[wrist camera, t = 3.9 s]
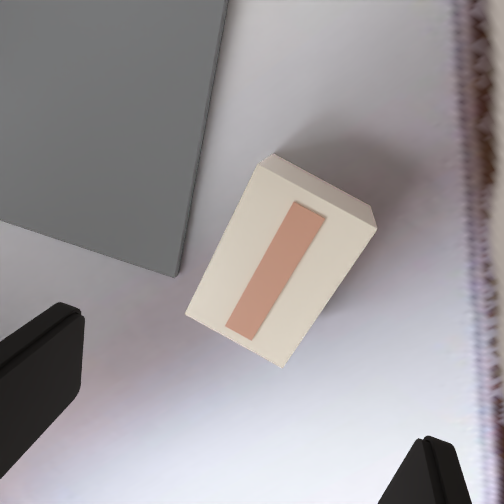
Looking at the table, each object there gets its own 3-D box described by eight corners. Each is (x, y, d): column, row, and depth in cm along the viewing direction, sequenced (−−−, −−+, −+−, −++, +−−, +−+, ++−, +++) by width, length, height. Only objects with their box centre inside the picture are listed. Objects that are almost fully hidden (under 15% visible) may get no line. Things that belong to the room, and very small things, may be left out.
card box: (292, 324, 24) (282, 370, 20) (210, 279, 24) (183, 315, 20) (370, 204, 21) (378, 229, 16) (273, 152, 21) (256, 164, 17)
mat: (178, 274, 25) (174, 278, 24) (-36, 203, 26) (-44, 205, 26) (250, -120, 17) (247, -127, 16) (-64, -185, 18) (-76, -194, 18)
